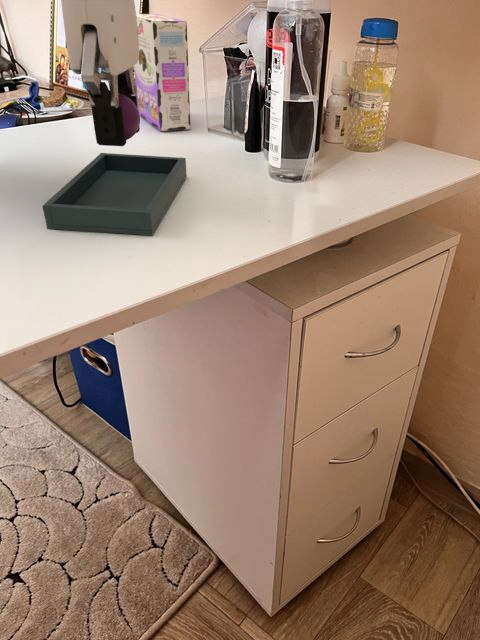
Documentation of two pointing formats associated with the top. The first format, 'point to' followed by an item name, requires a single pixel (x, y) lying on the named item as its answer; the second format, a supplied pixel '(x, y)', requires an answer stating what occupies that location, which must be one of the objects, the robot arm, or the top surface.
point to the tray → (117, 195)
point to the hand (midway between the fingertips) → (119, 136)
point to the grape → (129, 115)
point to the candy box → (163, 72)
